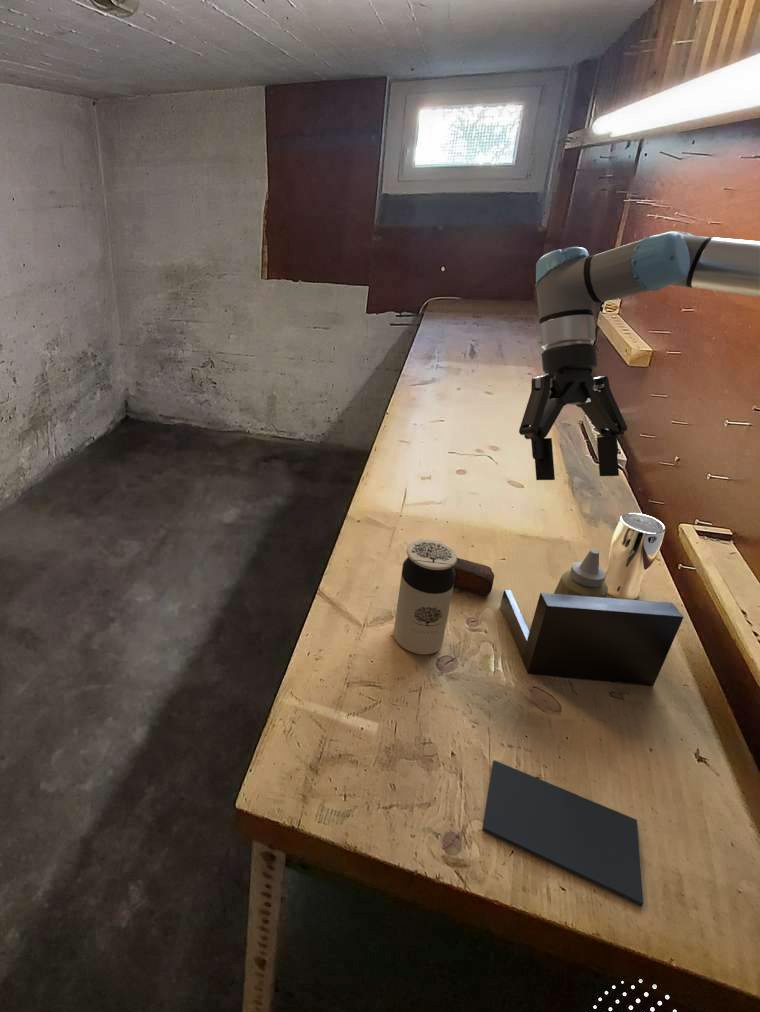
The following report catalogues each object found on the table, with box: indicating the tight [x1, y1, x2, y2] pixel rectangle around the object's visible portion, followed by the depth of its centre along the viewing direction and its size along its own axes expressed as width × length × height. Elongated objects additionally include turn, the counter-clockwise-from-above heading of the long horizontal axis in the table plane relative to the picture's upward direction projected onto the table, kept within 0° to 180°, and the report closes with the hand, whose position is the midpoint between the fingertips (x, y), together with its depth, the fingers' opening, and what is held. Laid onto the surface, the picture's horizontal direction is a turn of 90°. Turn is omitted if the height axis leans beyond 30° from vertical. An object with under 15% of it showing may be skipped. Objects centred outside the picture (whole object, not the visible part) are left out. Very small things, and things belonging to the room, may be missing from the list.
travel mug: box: [393, 539, 458, 655], centre depth 92 cm, size 8×8×18 cm
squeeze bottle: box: [553, 548, 608, 598], centre depth 91 cm, size 8×8×18 cm
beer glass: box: [604, 512, 667, 600], centre depth 102 cm, size 7×7×15 cm
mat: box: [481, 759, 644, 907], centre depth 68 cm, size 16×10×1 cm, turn 60°
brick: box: [453, 557, 495, 597], centre depth 107 cm, size 11×4×5 cm, turn 61°
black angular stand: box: [499, 589, 684, 687], centre depth 91 cm, size 16×18×14 cm
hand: (578, 478), depth 90 cm, fingers open, 13 cm apart
